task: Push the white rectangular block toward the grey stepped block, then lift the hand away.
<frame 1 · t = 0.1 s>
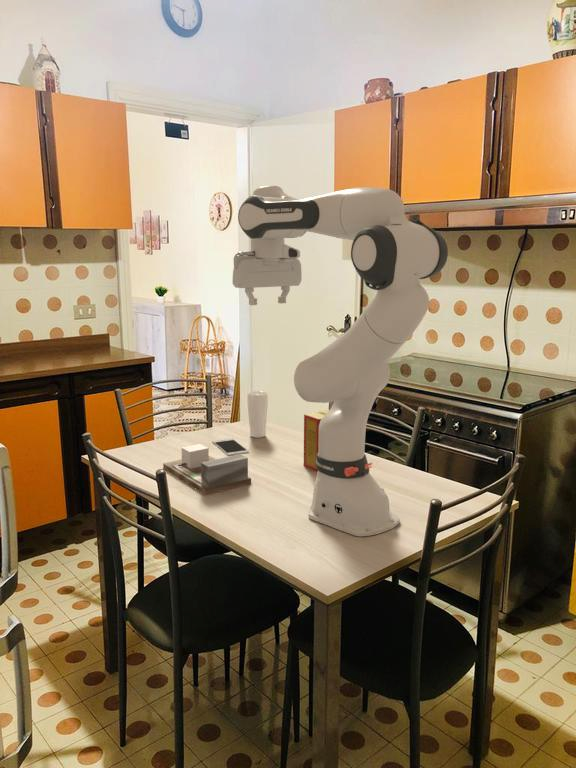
hand: (267, 304, 168), 48 cm above the table, fingers open, 8 cm apart
grey stepped block: (205, 475, 177), on the table
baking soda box: (323, 466, 186), on the table
smartphone: (230, 449, 202), on the table
white travel tumbler: (257, 436, 214), on the table
white rectangular block: (191, 456, 180), point 4 cm above the table, slide at 0.0 cm
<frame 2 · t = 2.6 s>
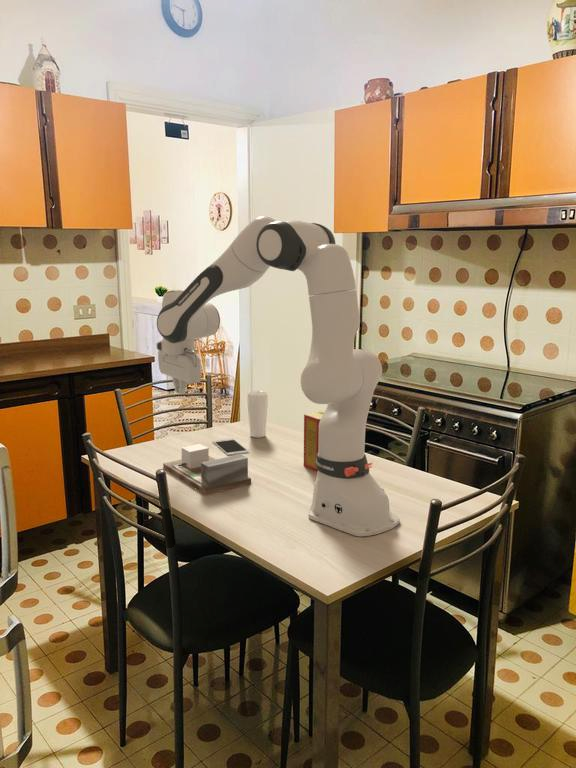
hand: (180, 393, 184), 21 cm above the table, fingers closed
nothing on the table moved.
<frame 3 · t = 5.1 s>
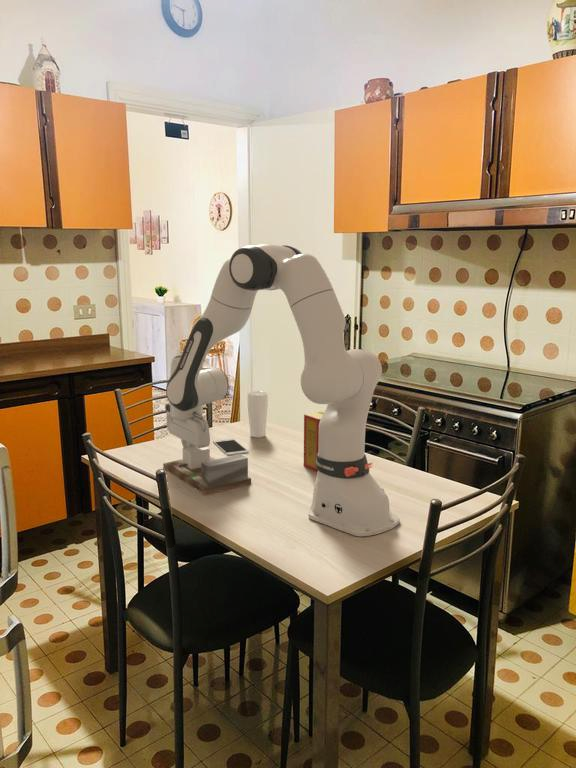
hand: (188, 454, 185), 3 cm above the table, fingers closed
white rectangular block: (192, 457, 180), point 4 cm above the table, slide at 0.6 cm, touching gripper
everything else where it was.
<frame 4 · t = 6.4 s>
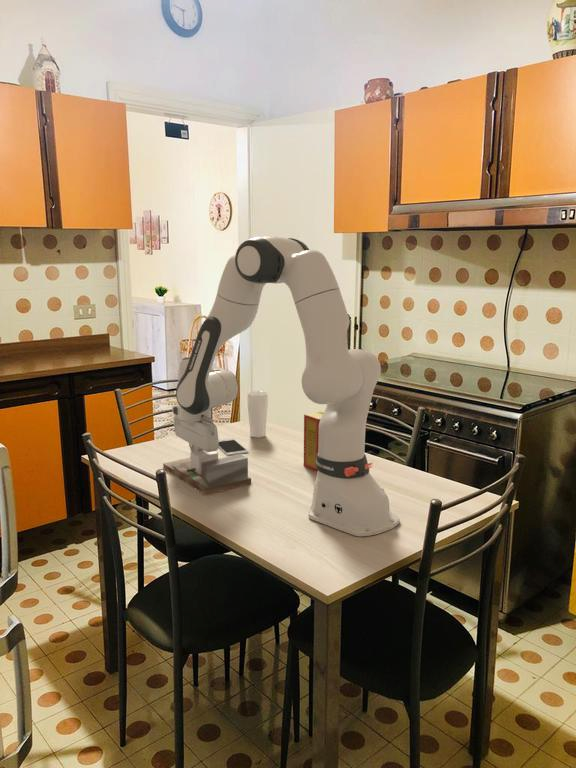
hand: (196, 458, 181), 4 cm above the table, fingers closed
white rectangular block: (200, 462, 176), point 4 cm above the table, slide at 5.4 cm, touching gripper
everything else where it was.
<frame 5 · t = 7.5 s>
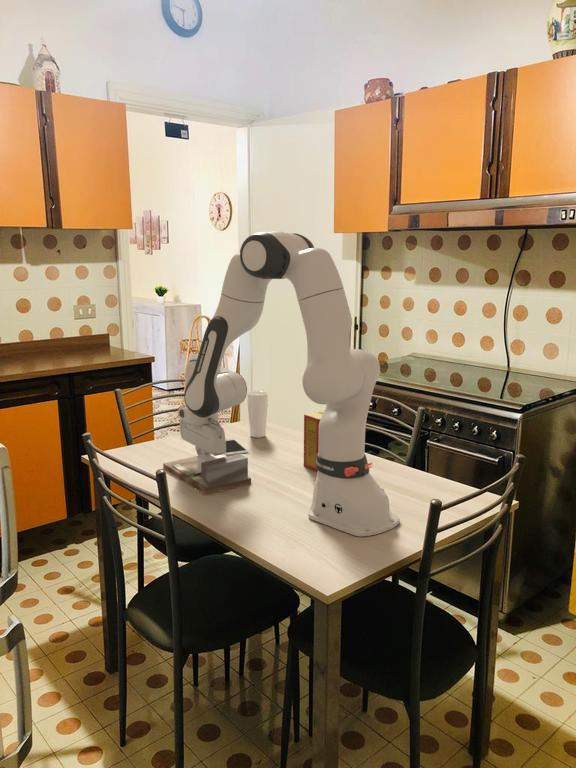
hand: (203, 462, 177), 4 cm above the table, fingers closed
white rectangular block: (207, 465, 173), point 4 cm above the table, slide at 9.4 cm, touching gripper
everything else where it was.
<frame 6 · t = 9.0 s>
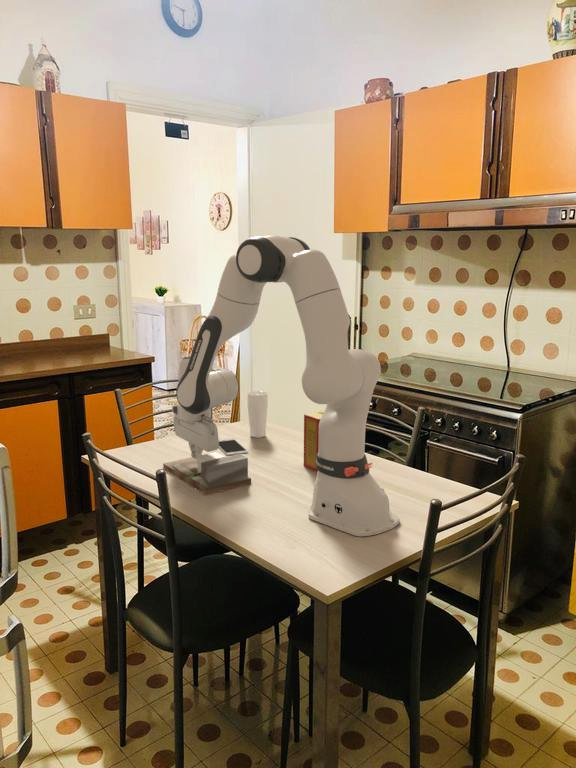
hand: (196, 458, 180), 4 cm above the table, fingers closed
white rectangular block: (207, 465, 173), point 4 cm above the table, slide at 9.4 cm
everything else where it was.
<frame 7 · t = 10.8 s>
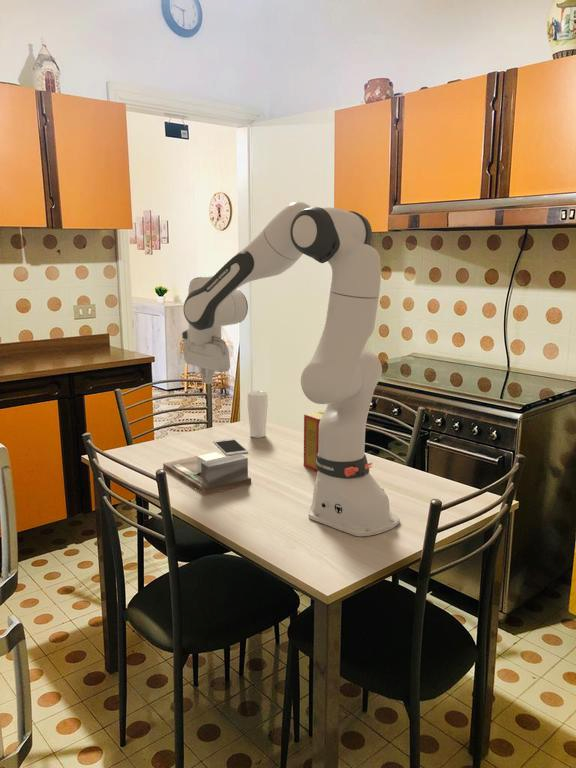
hand: (207, 383, 179), 25 cm above the table, fingers closed
nothing on the table moved.
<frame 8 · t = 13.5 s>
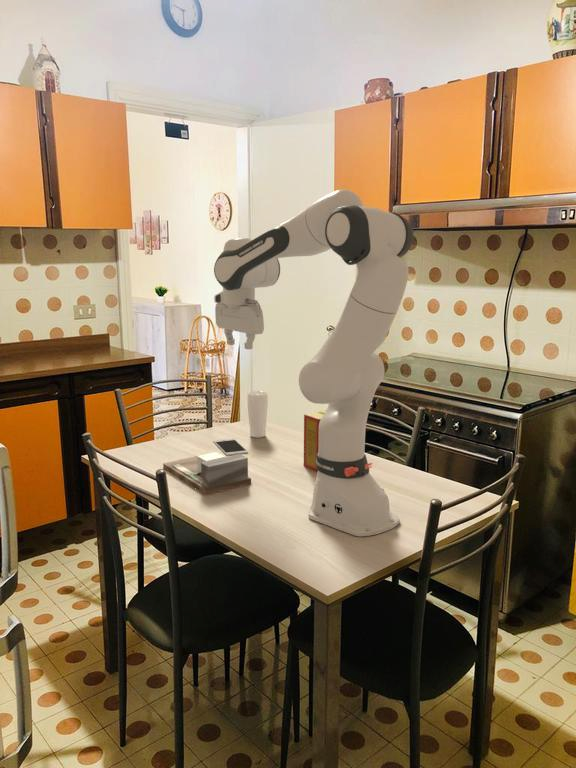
hand: (239, 346, 179), 35 cm above the table, fingers open, 8 cm apart
nothing on the table moved.
at the end: white rectangular block slide at 9.4 cm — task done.
